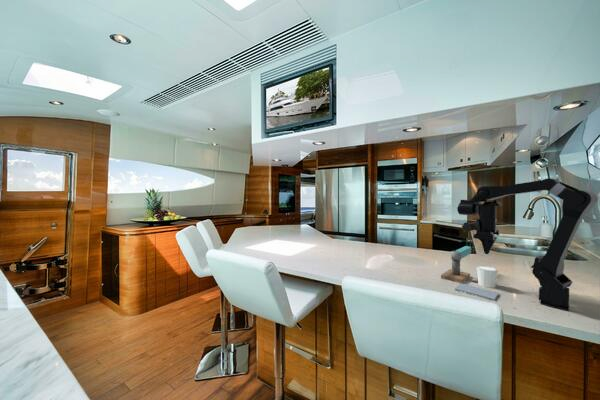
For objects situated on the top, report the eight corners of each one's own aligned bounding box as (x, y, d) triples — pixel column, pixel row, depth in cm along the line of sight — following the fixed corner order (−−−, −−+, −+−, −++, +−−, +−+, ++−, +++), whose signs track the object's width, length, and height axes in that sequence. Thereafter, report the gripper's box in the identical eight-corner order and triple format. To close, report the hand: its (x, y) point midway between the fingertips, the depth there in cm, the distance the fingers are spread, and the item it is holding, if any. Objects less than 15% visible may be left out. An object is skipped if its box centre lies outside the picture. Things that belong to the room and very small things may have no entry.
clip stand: (469, 276, 105) (470, 259, 105) (462, 283, 97) (462, 264, 97) (449, 272, 111) (450, 255, 111) (441, 278, 103) (441, 260, 103)
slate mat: (498, 294, 87) (498, 292, 87) (494, 300, 82) (494, 299, 82) (460, 284, 96) (460, 283, 96) (454, 290, 91) (454, 288, 91)
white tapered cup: (501, 289, 92) (502, 271, 92) (481, 287, 93) (482, 270, 93) (491, 282, 99) (491, 266, 98) (472, 281, 100) (473, 265, 100)
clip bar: (459, 261, 101) (459, 253, 101) (450, 259, 104) (450, 252, 104) (472, 253, 114) (472, 247, 114) (463, 252, 117) (464, 245, 117)
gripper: (468, 214, 108) (468, 247, 109) (458, 216, 96) (457, 254, 96) (499, 215, 100) (499, 251, 101) (493, 218, 88) (492, 259, 88)
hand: (486, 253), depth 97 cm, fingers closed
